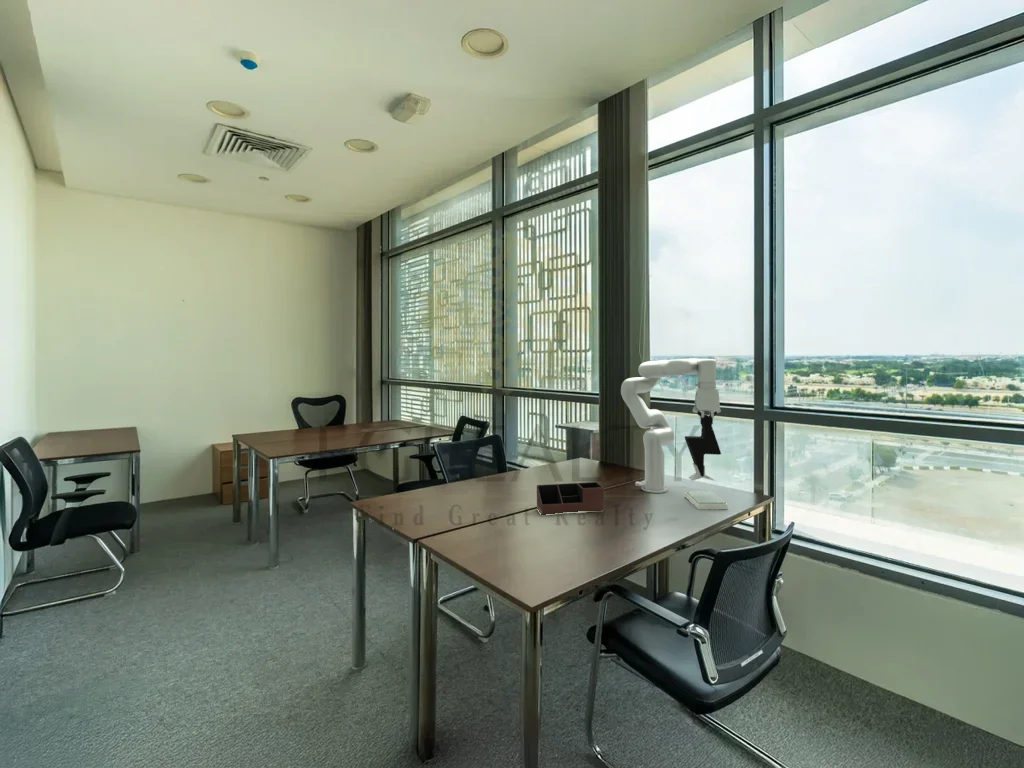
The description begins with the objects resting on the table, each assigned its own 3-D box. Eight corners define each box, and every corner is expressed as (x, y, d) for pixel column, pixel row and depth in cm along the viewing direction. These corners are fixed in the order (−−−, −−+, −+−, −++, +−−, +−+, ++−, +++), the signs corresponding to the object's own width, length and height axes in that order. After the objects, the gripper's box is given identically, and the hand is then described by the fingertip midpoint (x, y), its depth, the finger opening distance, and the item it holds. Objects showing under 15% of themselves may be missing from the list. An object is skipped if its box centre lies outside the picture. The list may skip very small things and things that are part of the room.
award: (716, 477, 228) (717, 413, 226) (720, 480, 223) (722, 415, 221) (683, 477, 229) (684, 414, 227) (687, 480, 224) (688, 415, 222)
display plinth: (697, 509, 217) (698, 502, 217) (684, 497, 236) (684, 491, 236) (727, 509, 216) (727, 502, 216) (712, 497, 235) (712, 491, 235)
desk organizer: (605, 512, 215) (605, 487, 215) (540, 516, 211) (540, 491, 210) (597, 505, 226) (597, 481, 225) (535, 509, 221) (535, 484, 220)
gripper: (691, 386, 220) (691, 427, 221) (728, 386, 219) (727, 427, 220) (686, 385, 227) (686, 424, 228) (721, 385, 226) (721, 424, 227)
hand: (706, 425), depth 224 cm, fingers closed on award
